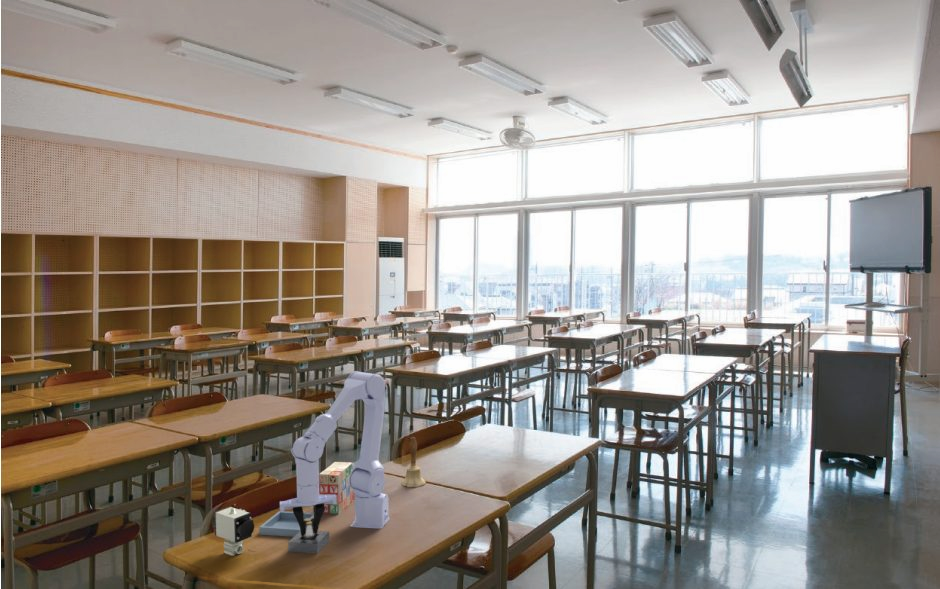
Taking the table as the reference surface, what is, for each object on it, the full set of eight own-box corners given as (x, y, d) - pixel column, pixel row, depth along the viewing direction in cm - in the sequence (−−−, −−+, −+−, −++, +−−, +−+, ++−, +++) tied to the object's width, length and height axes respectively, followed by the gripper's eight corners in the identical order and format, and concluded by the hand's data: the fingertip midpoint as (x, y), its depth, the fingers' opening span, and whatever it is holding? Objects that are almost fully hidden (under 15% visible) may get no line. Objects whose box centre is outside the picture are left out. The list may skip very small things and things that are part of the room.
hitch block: (329, 542, 177) (329, 531, 177) (317, 555, 169) (317, 544, 169) (301, 540, 178) (301, 529, 178) (288, 553, 170) (288, 541, 170)
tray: (317, 521, 191) (317, 513, 191) (299, 538, 179) (299, 529, 179) (279, 519, 193) (279, 511, 193) (259, 536, 182) (259, 527, 181)
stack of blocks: (346, 489, 219) (345, 453, 219) (363, 490, 218) (363, 454, 217) (319, 513, 198) (318, 473, 198) (338, 514, 197) (338, 474, 196)
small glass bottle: (316, 544, 175) (315, 518, 174) (312, 548, 172) (311, 522, 172) (306, 543, 175) (306, 517, 175) (302, 547, 172) (301, 521, 172)
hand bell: (404, 479, 229) (403, 434, 228) (427, 480, 228) (427, 434, 227) (398, 487, 221) (398, 440, 220) (422, 488, 220) (422, 441, 219)
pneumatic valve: (240, 562, 165) (239, 515, 165) (212, 551, 172) (210, 506, 171) (258, 554, 170) (257, 508, 169) (230, 544, 176) (228, 500, 176)
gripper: (333, 475, 179) (334, 523, 180) (278, 481, 174) (279, 531, 175) (337, 482, 173) (338, 533, 173) (280, 490, 167) (281, 542, 168)
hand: (309, 533), depth 173 cm, fingers closed on small glass bottle, 3 cm apart
